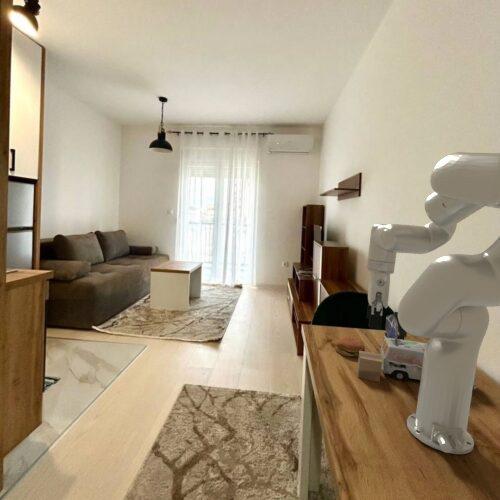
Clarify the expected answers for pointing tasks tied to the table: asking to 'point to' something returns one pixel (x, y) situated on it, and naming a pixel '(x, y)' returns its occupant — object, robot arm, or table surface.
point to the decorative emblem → (394, 328)
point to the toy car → (404, 359)
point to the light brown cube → (369, 366)
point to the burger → (349, 347)
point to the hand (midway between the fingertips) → (373, 323)
